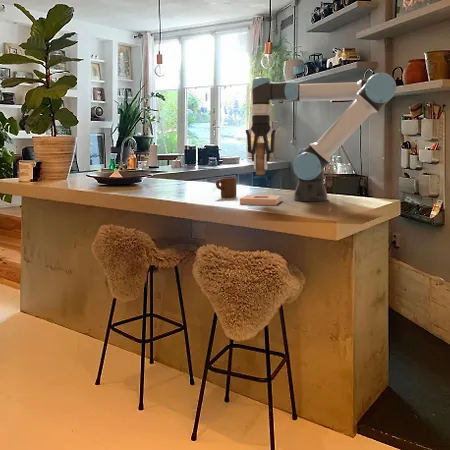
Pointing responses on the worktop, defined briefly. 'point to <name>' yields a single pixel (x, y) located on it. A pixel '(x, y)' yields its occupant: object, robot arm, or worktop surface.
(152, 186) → the worktop surface
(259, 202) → the socket plate
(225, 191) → the mug
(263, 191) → the worktop surface
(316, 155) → the robot arm
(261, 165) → the peg
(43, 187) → the worktop surface
